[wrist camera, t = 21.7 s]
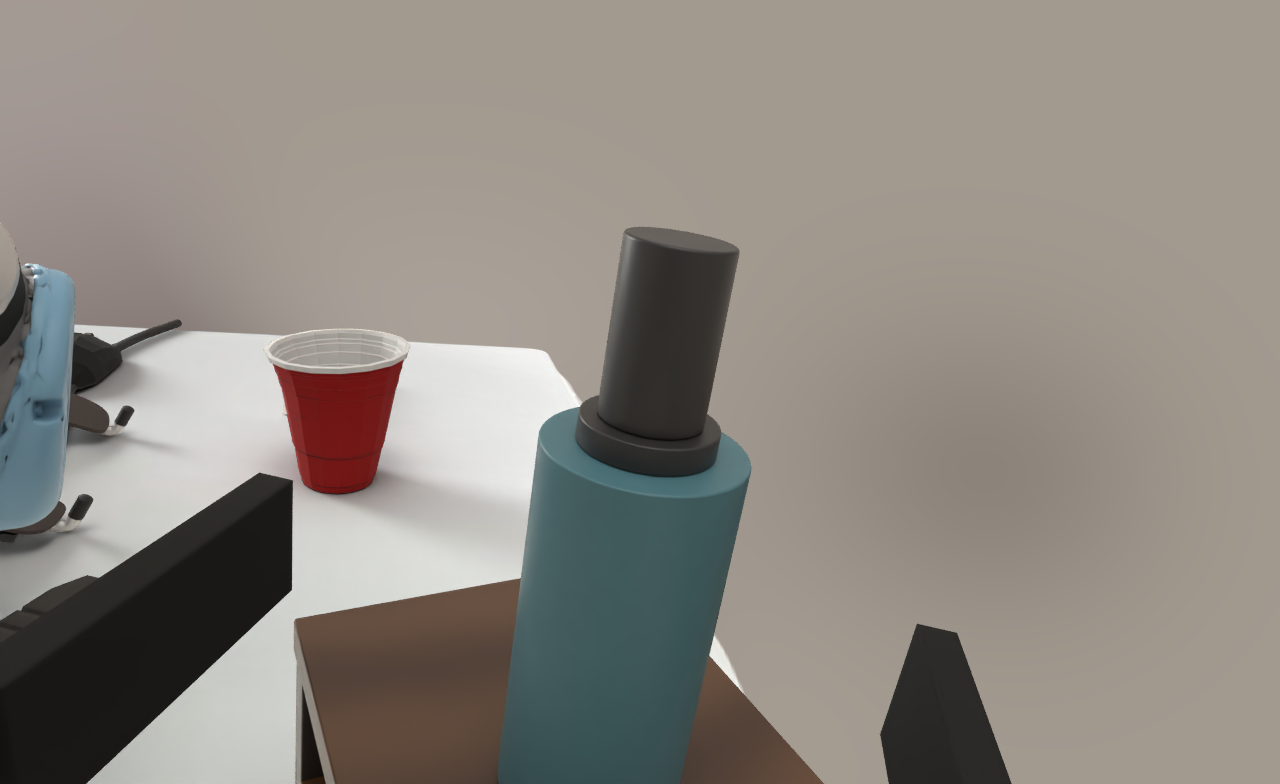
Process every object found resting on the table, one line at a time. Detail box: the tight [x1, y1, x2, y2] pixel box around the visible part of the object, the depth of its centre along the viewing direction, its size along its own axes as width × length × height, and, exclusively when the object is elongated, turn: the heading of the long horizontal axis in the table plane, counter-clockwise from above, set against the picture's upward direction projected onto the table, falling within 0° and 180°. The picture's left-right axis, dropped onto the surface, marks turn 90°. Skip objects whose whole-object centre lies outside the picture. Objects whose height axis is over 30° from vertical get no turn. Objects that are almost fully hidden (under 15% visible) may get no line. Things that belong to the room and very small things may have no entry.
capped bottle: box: [497, 227, 751, 784], centre depth 23 cm, size 6×6×18 cm
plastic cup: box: [263, 329, 410, 494], centre depth 64 cm, size 11×11×12 cm
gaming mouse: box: [71, 333, 122, 389], centre depth 77 cm, size 6×15×4 cm, turn 9°
